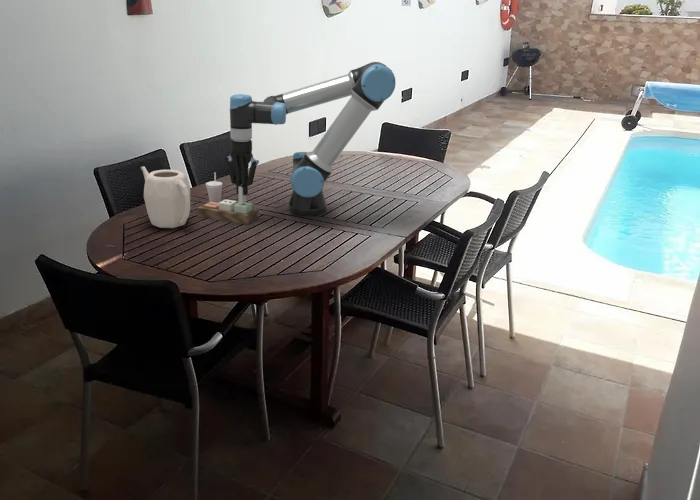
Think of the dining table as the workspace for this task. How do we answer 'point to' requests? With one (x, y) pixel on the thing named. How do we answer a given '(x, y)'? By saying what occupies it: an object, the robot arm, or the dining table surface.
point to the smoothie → (214, 190)
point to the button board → (228, 215)
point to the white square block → (227, 205)
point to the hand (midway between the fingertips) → (242, 203)
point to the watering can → (166, 197)
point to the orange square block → (211, 205)
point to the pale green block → (243, 208)
